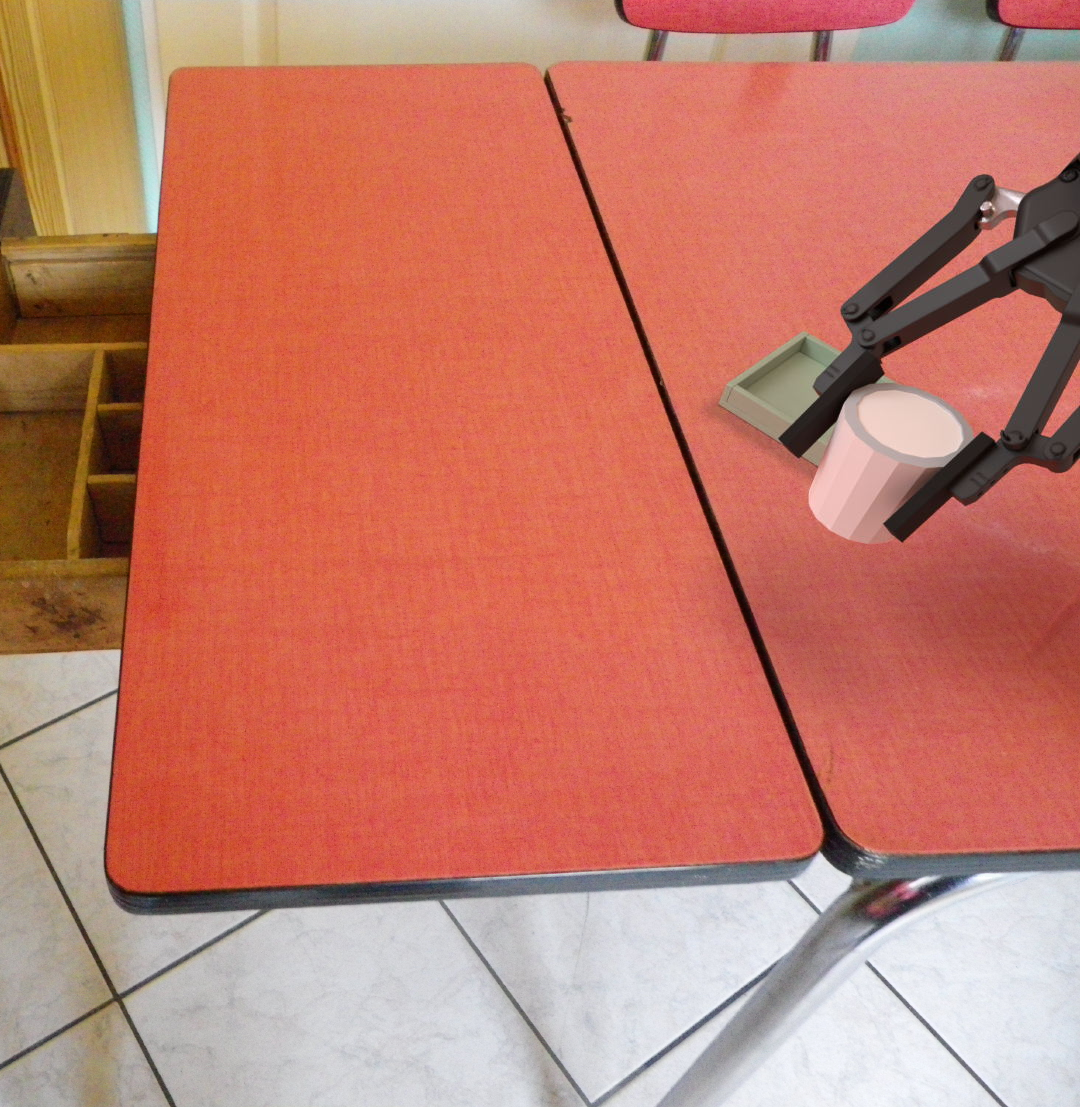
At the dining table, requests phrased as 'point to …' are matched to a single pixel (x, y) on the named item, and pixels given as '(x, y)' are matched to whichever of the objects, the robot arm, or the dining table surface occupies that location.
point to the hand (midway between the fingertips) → (839, 489)
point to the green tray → (783, 389)
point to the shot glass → (883, 457)
